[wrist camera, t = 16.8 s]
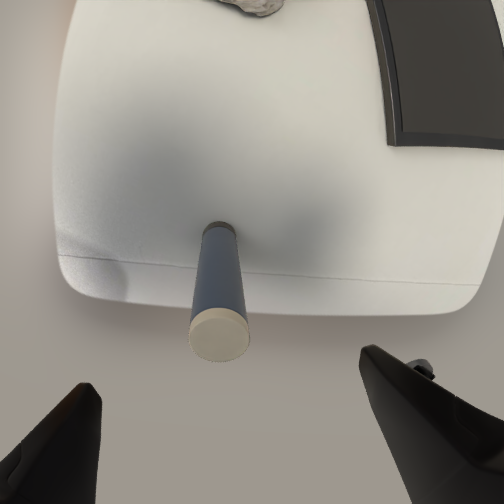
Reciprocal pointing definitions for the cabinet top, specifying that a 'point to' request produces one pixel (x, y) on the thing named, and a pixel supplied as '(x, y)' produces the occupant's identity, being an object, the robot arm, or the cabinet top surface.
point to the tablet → (440, 72)
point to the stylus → (219, 298)
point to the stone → (258, 5)
